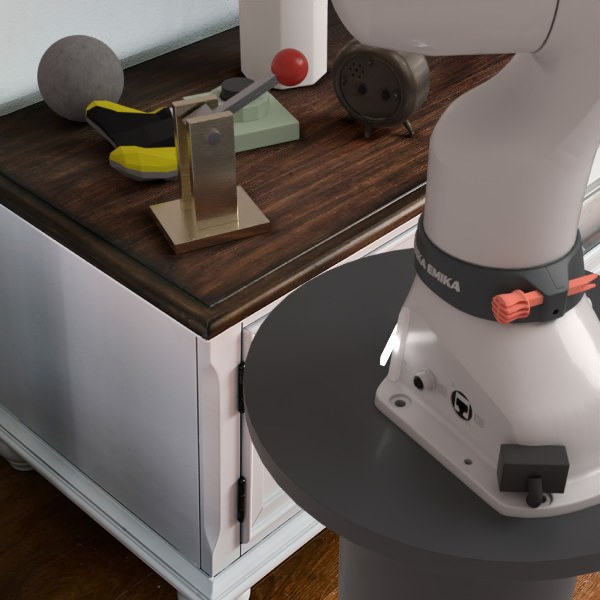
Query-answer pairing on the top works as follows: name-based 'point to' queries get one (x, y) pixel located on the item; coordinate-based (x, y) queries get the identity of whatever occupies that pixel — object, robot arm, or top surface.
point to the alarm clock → (380, 85)
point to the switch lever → (264, 82)
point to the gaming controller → (137, 140)
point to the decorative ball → (79, 75)
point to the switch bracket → (206, 183)
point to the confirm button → (234, 86)
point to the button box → (260, 122)
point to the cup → (283, 35)
